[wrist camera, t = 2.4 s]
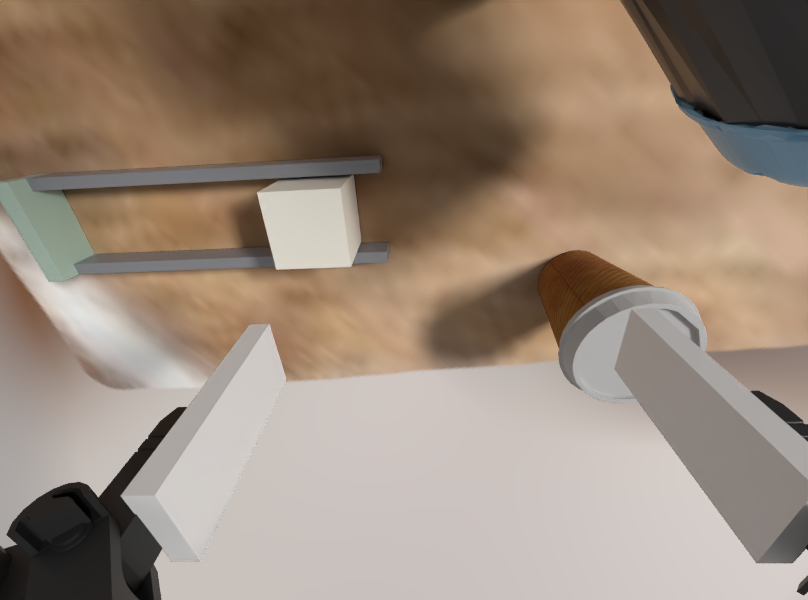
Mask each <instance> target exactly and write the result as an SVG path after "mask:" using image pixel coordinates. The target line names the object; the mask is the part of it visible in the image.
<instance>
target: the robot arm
mask: <svg viewBox="0 0 808 600" xmlns="http://www.w3.org/2000/svg"><path fill="white" fill-rule="evenodd" d="M620 1H621V3H622V4H623V6H624V7H625V9H626V11H627V12H628V14H629V15H630V17H631V18H632V20H633V22H634V23H635V25H636V26H637V28H638V30H639V31H640V33H641V34H642V36H643V38H644V39H645V41H646V43H647V44H648V46H649V48H650V49H651V51H652V53H653V55H654V56H655V58H656V60H657V61H658V63H659V65H660V66H661V68H662V70H663V71H664V73H665V75H666V77H667V78H668V80H669V82H670V83H671V85H670V88H671V91H672V94H673V97H674V98H675V100H676V103H677V104H678V106H679V108H680V109H681V110H682V111H683V112H684V113H685V114H686V115H687V116H688V117H690V118H691V119H693V120H694V121H696V122H698V123H699V124H700V126H701V127H702V128H703V130H704V131H705V133H706V134H707V135H708V137H709V138H710V140H711V141H712V142H713V144H714V145H715V147H716V148H717V149H718V151H719V152H720V153H721V154H722V155H723V156H724V157H725V158H726V159H727V160H728V161H729V162H731V163H732V164H734V165H735V166H736V167H738V168H740V169H742V170H744V171H745V172H747V173H750V174H754V175H760V176H767V177H770V178H772V179H775V180H777V181H779V182H782V183H786V184H789V185H794V186H801V187H808V0H620ZM614 370H615V371H616V372H617V374H618V375H619V377H620V378H621V379H622V381H623V382H624V383H625V385H626V386H627V387H628V389H629V390H630V392H631V393H632V394H633V396H634V397H635V398H636V400H637V401H638V402H639V404H640V405H641V406H642V408H643V409H644V411H645V412H646V413H647V415H648V416H649V417H650V419H651V420H652V421H653V423H654V424H655V425H656V427H657V428H658V430H659V431H660V432H661V434H662V435H663V436H664V438H665V439H666V441H667V442H668V443H669V445H670V446H671V447H672V449H673V450H674V451H675V453H676V454H677V455H678V457H679V458H680V459H681V461H682V462H683V464H684V465H685V466H686V468H687V469H688V471H689V472H690V473H691V475H692V476H693V477H694V479H695V480H696V481H697V483H698V484H699V485H700V487H701V488H702V490H703V491H704V492H705V494H706V495H707V496H708V498H709V499H710V500H711V502H712V503H713V505H714V506H715V507H716V509H717V510H718V511H719V513H720V514H721V515H722V517H723V518H724V520H725V521H726V522H727V523H728V525H729V526H730V528H731V529H732V530H733V532H734V533H735V535H736V536H737V537H738V539H739V540H740V541H741V543H742V544H743V545H744V547H745V548H746V550H747V551H748V552H749V554H750V555H751V556H752V558H753V559H754V560H755V562H756V563H793V562H794V561H795V560H796V559H797V558H798V557H799V556H800V555H801V554H802V552H803V551H804V550H805V549H807V550H808V424H804V423H803V420H802V419H800V418H799V417H798V416H797V415H796V414H794V413H793V412H792V411H791V410H789V409H788V408H787V407H786V406H785V405H783V404H782V403H780V402H778V401H776V400H774V399H773V398H771V397H769V396H767V395H765V394H764V393H762V392H760V391H749V390H748V389H747V388H745V387H744V386H743V385H742V384H741V383H740V382H738V381H737V380H736V379H735V378H734V377H733V376H732V375H731V374H729V373H728V372H727V371H726V370H725V369H724V368H723V367H721V366H720V365H719V364H718V363H717V362H715V360H713V359H712V358H711V357H710V356H709V355H708V354H706V353H705V352H704V351H703V350H702V349H701V348H700V347H698V346H697V345H696V344H695V343H694V342H693V341H692V340H690V339H689V338H688V337H687V336H686V335H685V334H684V333H682V332H681V331H680V330H679V329H678V328H677V327H676V326H674V325H673V324H672V323H671V322H670V321H669V320H667V319H666V318H665V317H664V316H663V315H662V314H661V313H659V312H658V311H657V310H656V309H655V308H636V309H631V312H630V315H629V319H628V322H627V326H626V329H625V333H624V336H623V340H622V343H621V347H620V350H619V354H618V357H617V361H616V364H615V368H614ZM285 382H286V376H285V373H284V370H283V367H282V363H281V360H280V357H279V354H278V350H277V347H276V344H275V341H274V337H273V334H272V331H271V328H270V324H254V325H249V326H248V328H247V329H246V330H245V332H244V333H243V334H242V335H241V337H240V338H239V339H238V341H237V342H236V343H235V345H234V346H233V347H232V349H231V350H230V351H229V353H228V354H227V355H226V357H225V358H224V359H223V361H222V362H221V363H220V365H219V366H218V367H217V369H216V370H215V371H214V373H213V374H212V375H211V377H210V378H209V379H208V381H207V382H206V383H205V385H204V386H203V387H202V389H201V390H200V391H199V392H198V394H197V395H196V397H195V398H194V399H193V400H192V402H191V403H190V404H189V406H188V407H178V408H176V409H175V410H174V411H172V412H171V413H170V414H169V415H167V416H166V417H165V418H164V419H163V420H161V421H160V422H159V423H158V425H157V426H156V427H155V428H154V430H153V431H152V432H151V433H150V435H149V436H148V439H146V440H145V441H144V442H143V443H142V445H141V446H140V447H139V448H138V452H135V453H134V454H133V456H132V457H131V458H130V459H129V461H128V462H127V463H126V464H125V466H124V467H123V468H122V469H121V471H120V472H119V473H118V474H117V476H116V477H115V478H114V479H113V481H112V482H111V483H110V484H109V485H108V487H107V488H106V489H105V490H104V492H103V493H102V494H101V495H100V497H99V498H98V497H97V495H96V494H95V493H94V492H93V491H92V489H91V488H90V487H89V486H88V485H86V484H84V483H81V482H76V483H68V484H65V485H63V486H60V487H57V488H55V489H53V490H51V491H49V492H47V493H46V494H44V495H42V496H41V497H39V498H37V499H36V500H35V501H34V502H32V503H31V504H30V505H29V506H28V507H26V508H25V509H24V510H23V511H22V512H21V513H20V514H19V515H18V517H17V518H16V519H15V520H14V521H13V522H12V524H11V526H10V529H9V530H8V533H7V536H8V537H10V538H11V539H12V540H13V541H14V542H15V543H16V544H17V545H15V546H11V547H8V548H5V549H3V548H2V547H1V546H0V600H161V594H160V587H159V579H158V572H157V570H156V568H155V566H154V562H155V560H156V559H157V557H158V555H159V553H160V551H161V550H163V552H164V553H165V554H166V555H167V557H168V558H169V559H170V561H172V562H174V561H175V562H176V561H177V562H178V561H179V562H181V561H183V562H190V561H191V562H200V561H201V559H202V557H203V555H204V553H205V551H206V549H207V546H208V544H209V542H210V540H211V538H212V536H213V533H214V531H215V529H216V527H217V525H218V523H219V521H220V519H221V517H222V515H223V513H224V511H225V508H226V506H227V504H228V502H229V500H230V498H231V496H232V494H233V492H234V489H235V487H236V485H237V483H238V481H239V479H240V477H241V475H242V472H243V470H244V468H245V466H246V464H247V462H248V460H249V458H250V455H251V453H252V451H253V449H254V447H255V445H256V443H257V441H258V439H259V436H260V434H261V432H262V430H263V428H264V426H265V424H266V422H267V420H268V417H269V415H270V413H271V411H272V409H273V407H274V405H275V403H276V400H277V398H278V396H279V394H280V392H281V390H282V388H283V386H284V384H285ZM797 592H798V593H800V594H802V595H805V594H806V593H807V592H808V576H807V577H806V578H805V579H804V580H803V581H802V582H801V583H800V584H799V587H798V590H797Z"/></svg>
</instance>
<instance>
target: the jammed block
mask: <svg viewBox="0 0 808 600" xmlns="http://www.w3.org/2000/svg"><path fill="white" fill-rule="evenodd" d="M257 195H258V199H259V203H260V207H261V211H262V215H263V219H264V223H265V227H266V231H267V235H268V239H269V243H270V247H271V251H272V255H273V259H274V263H275V267H276V270H280V269H307V268H333V267H351V266H352V263H353V261H354V258H355V256H356V253H357V251H358V248H359V246H360V243H361V232H360V224H359V215H358V207H357V198H356V190H355V182H354V174H349V175H330V176H311V177H292V178H282V179H280V180H278V181H276V182H275V183H273V184H271V185H269V186H268V187H266V188H264V189H262V190H260V191H259V192H257Z"/></svg>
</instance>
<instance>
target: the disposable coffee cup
mask: <svg viewBox="0 0 808 600" xmlns="http://www.w3.org/2000/svg"><path fill="white" fill-rule="evenodd" d="M538 290H539V294H540V296H541V299H542V302H543V305H544V308H545V310H546V313H547V316H548V319H549V322H550V324H551V327H552V330H553V333H554V336H555V338H556V341H557V344H558V347H559V352H558V356H559V364H560V367H561V369H562V371H563V374H564V375H565V377H566V378H567V379H568V380H569V381H570V383H571V384H573V385H574V386H576V387H577V388H578V389H581V390H583V391H584V392H585V393H586V394H588V395H589V396H591V397H593V398H595V399H597V400H600V401H604V402H610V403H620V404H625V403H634V402H638V401H637V400H636V398H635V397H634V396H633V394H632V393H631V392H630V390H629V389H628V387H627V386H626V385H625V383H624V382H623V381H622V379H621V378H620V377H619V375H618V374H617V372H616V371H615V370H614V368H615V364H616V361H617V357H618V354H619V350H620V347H621V343H622V340H623V336H624V333H625V329H626V326H627V322H628V319H629V315H630V312H631V309H636V308H655V309H656V310H657V311H658V312H659V313H661V314H662V315H663V316H664V317H665V318H666V319H667V320H669V321H670V322H671V323H672V324H673V325H674V326H676V327H677V328H678V329H679V330H680V331H681V332H682V333H684V334H685V335H686V336H687V337H688V338H689V339H690V340H692V341H693V342H694V343H695V344H696V345H697V346H698V347H700V348H701V349H702V350H703V351H704V352H705V350H706V346H707V334H706V329H705V327H704V324H703V323H702V321H701V317H700V313H699V311H698V310H697V308H696V306H695V305H694V304H693V303H692V302H691V301H690V300H689V299H688V298H686V297H685V296H683V295H682V294H680V293H679V292H676V291H673V290H670V289H667V288H664V287H655V286H653V285H651V284H649V283H647V282H645V281H643V280H641V279H639V278H637V277H635V276H634V275H632V274H630V273H628V272H626V271H624V270H622V269H620V268H619V267H616V266H615V265H613V264H611V263H609V262H607V261H605V260H603V259H601V258H599V257H598V256H596V255H594V254H592V253H590V252H587V251H580V250H577V251H570V252H566V253H563V254H561V255H559V256H557V257H555V258H554V259H552V260H551V261H550V262H549V263H548V264H547V265H546V266H545V267H544V269H543V270H542V272H541V274H540V277H539V280H538Z"/></svg>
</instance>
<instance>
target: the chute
mask: <svg viewBox="0 0 808 600" xmlns="http://www.w3.org/2000/svg"><path fill="white" fill-rule="evenodd" d="M382 168H383V166H382V155H375V156H357V157H339V158H320V159H302V160H284V161H266V162H248V163H230V164H211V165H193V166H175V167H157V168H139V169H120V170H102V171H84V172H66V173H48V174H35V175H30V176H24V177H19V178H14V179H8V180H3V181H0V202H1V204H2V205H3V207H4V208H5V210H6V212H7V213H8V215H9V217H10V218H11V220H12V222H13V223H14V225H15V227H16V228H17V230H18V232H19V233H20V235H21V237H22V238H23V240H24V241H25V243H26V245H27V246H28V248H29V250H30V251H31V253H32V255H33V256H34V258H35V260H36V261H37V263H38V265H39V266H40V268H41V269H42V271H43V273H44V274H45V276H46V278H47V279H48V281H49V282H58V281H66V280H68V279H70V278H72V277H74V276H76V275H78V274H96V273H122V272H148V271H174V270H200V269H226V268H252V267H275V263H274V259H273V255H272V251H271V247H255V248H231V249H207V250H183V251H159V252H135V253H111V254H95V253H94V251H93V249H92V248H91V246H90V244H89V242H88V240H87V238H86V236H85V234H84V232H83V230H82V228H81V226H80V224H79V222H78V220H77V218H76V216H75V214H74V213H73V211H72V209H71V207H70V205H69V203H68V201H67V199H66V197H65V195H64V193H63V191H62V189H81V188H100V187H120V186H139V185H158V184H177V183H196V182H215V181H234V180H253V179H272V178H292V177H311V176H330V175H349V174H368V173H380V172H381V170H382ZM388 257H389V242H375V243H360V246H359V248H358V251H357V253H356V256H355V258H354V261H353V263H352V264H356V263H382V262H388Z"/></svg>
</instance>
